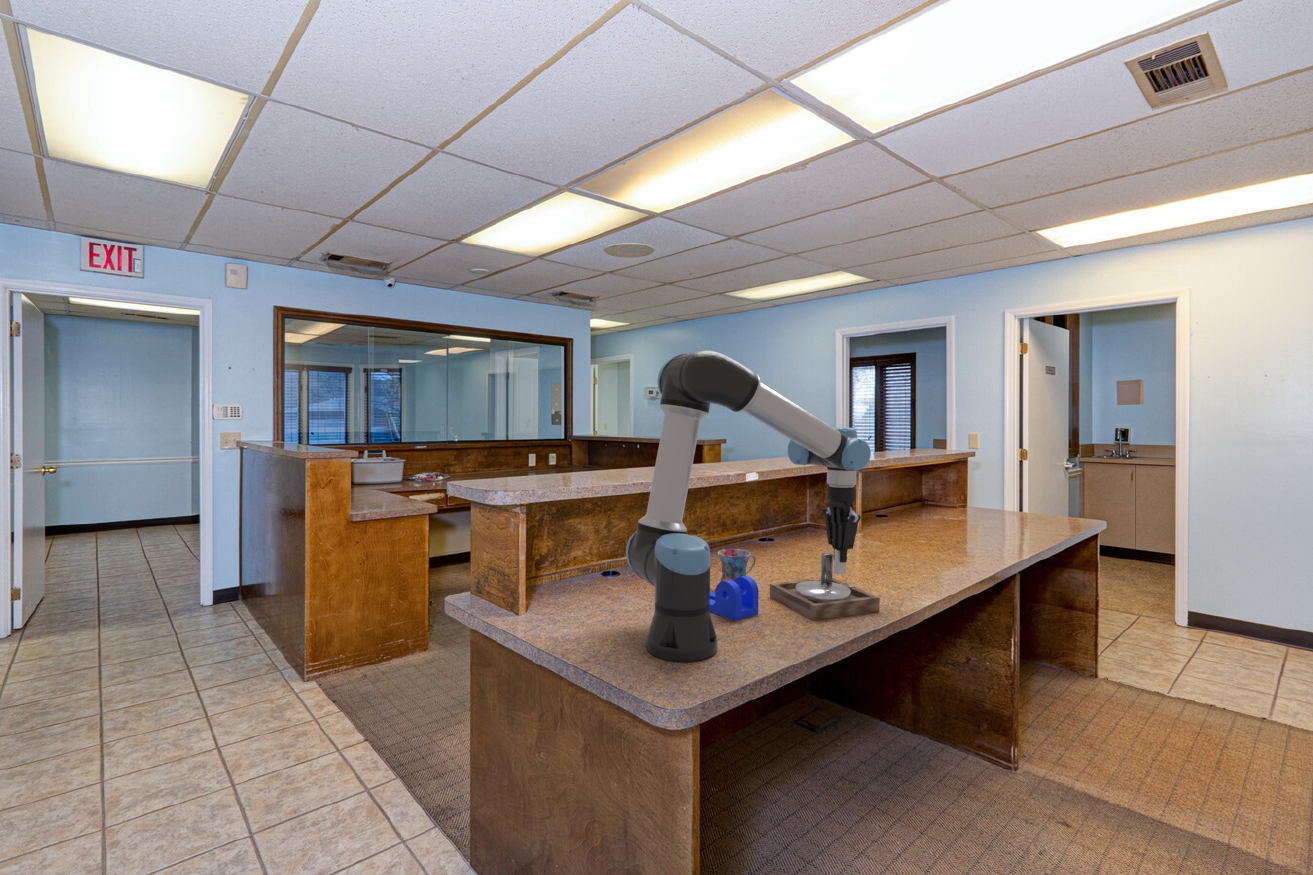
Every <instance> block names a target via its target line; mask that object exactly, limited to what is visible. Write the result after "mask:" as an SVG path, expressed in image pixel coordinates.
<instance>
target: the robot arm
mask: <svg viewBox="0 0 1313 875" xmlns="http://www.w3.org/2000/svg"><path fill="white" fill-rule="evenodd" d="M657 375H658V376H657V388H658V391H659V392H660V395H661V396H660V401H659V402H660V403H659V407H660V409H661V410H662V412H663V414H664V417H663V422H662V427H661V433H660V439H659V443H658V444H659V445H658V448H657V455H656V459H655V466H654V470H653V471H654V472H653V477H652V482H651V487H650V493H649V497H648V502H647V508H646V513H645V515H643V516H642V517H641V518H640V519H638V521H637V526H636V531H635V532H633V534H632V535H631V536H629V539H628V541H627V543H626V546H625V547H626V548H625V557H626V561H627V564H628V565H629V568H630V569H631V570H632V571H633V572H634V574H635V575H636V576H638V577H639V578H640V579H641V580H644V581H645V582H647V583H648V584H650V585H652V586H654V614H653V617H652V619H651V622H650V625H649V628H648V632H647V634H646V639H645V641H646V644H645V645H646V646H645V647H646V650H647V651H648V653H649V654H650V655H653V656H654V657H656V658H658V659H662V660H665V661H671V662H678V663H679V662H683V663H685V662H687V663H688V662H697V661H703V660H706V659H708V658H711V657H713V656H714V655H715V654H716V653H717V651H718V637H717V633H716V630H715V627H714V624H713V621H712V617H711V612H709V605H710V592H711V565H712V557H711V549H710V546H709V544H708V543H707V541H706V540H704V539H703V538H701V537H699V536H696V535H689V534H687V532H688V528H687V527H686V525H685V524H684V522H683V518H684V513H685V507H686V502H687V496H688V491H689V485H690V482H691V481H690V480H691V476H692V470H693V465H694V459H695V453H696V447H697V442H698V437H699V431H700V426H701V422H702V420H703V419H704V418H706V417H707V416H709V412H710V407H711V404H713V405H718V406H721V407H725V408H727V409H728V410H731V411H732V412H734V413H740V412H743V413H744V414H747V415H748V416H749V417H751V418H753V419H755V420H756V421H758V422H760V423H762V424H763V425H765V426H767V427H768V428H770V429H772V430H774V431H775V432H777V433H778V434H780V435H782V436H783V437H785V438H787V439H789V441H788V445H787V456H788V459H789V461H790V462H791V463H792V464H794V465H797V466H798V465H799V466H807V465H810V466H819V467H826V484H827V487H826V499H827V500H828V501H829V503H828V507H826V508H822V513H823V516H824V521H825V529H826V535H827V543H828V545H831V547H832V549H833V574H835V575H846V574H847V562H848V550H852V549H854V546H855V540H856V534H857V532H858V530H857V529H858V524H859V522H860V520H861V518H862V517H861V514H857V513H856V512H855V506H854V502H855V501H856V500H857V487H856V485H857V471H861V470H862V469H864V468H866V467H867V466H868V464H869V462H870V459H871V456H872V451H871V447H870V445H869V444H868V442H867V441H865V440H864V439H861V438H858V431H857V429H855V428H854V427H833V426H831V425H829V424H828V423H826V422H824V421H823V420H822V419H820V418H818V417H816V416H815V415H814V414H812V413H810V412H809V411H807V410H806V409H804V408H803V407H801V406H799V405H797V403H795V402H793V401H791V400H790V399H789V398H786V397H785V396H783V395H782V394H780V393H778V392H777V391H775V390H774V389H772V388H771V387H769V386H767V385H766V384H764V383H762V382H761V380H760V376H759V375H758V374H757V373H756V372H754V371H752V370H751V369H749V368H748V367H746V366H744V365H743V364H741V363H740V362H738V361H736V360H735V359H734V358H731V357H729V356H727V355H725V354H723V353H720V352H719V351H716V350H715V351H714V350H709V349H708V350H699V351H695V352H690V353H687V352H686V353H680V354H677V355H675V356H673V357H672V358H669V359H668V360H667V361H666V362H664V364H663V365H662V367H661V368H660V370H659V372H658V374H657Z"/></svg>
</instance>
